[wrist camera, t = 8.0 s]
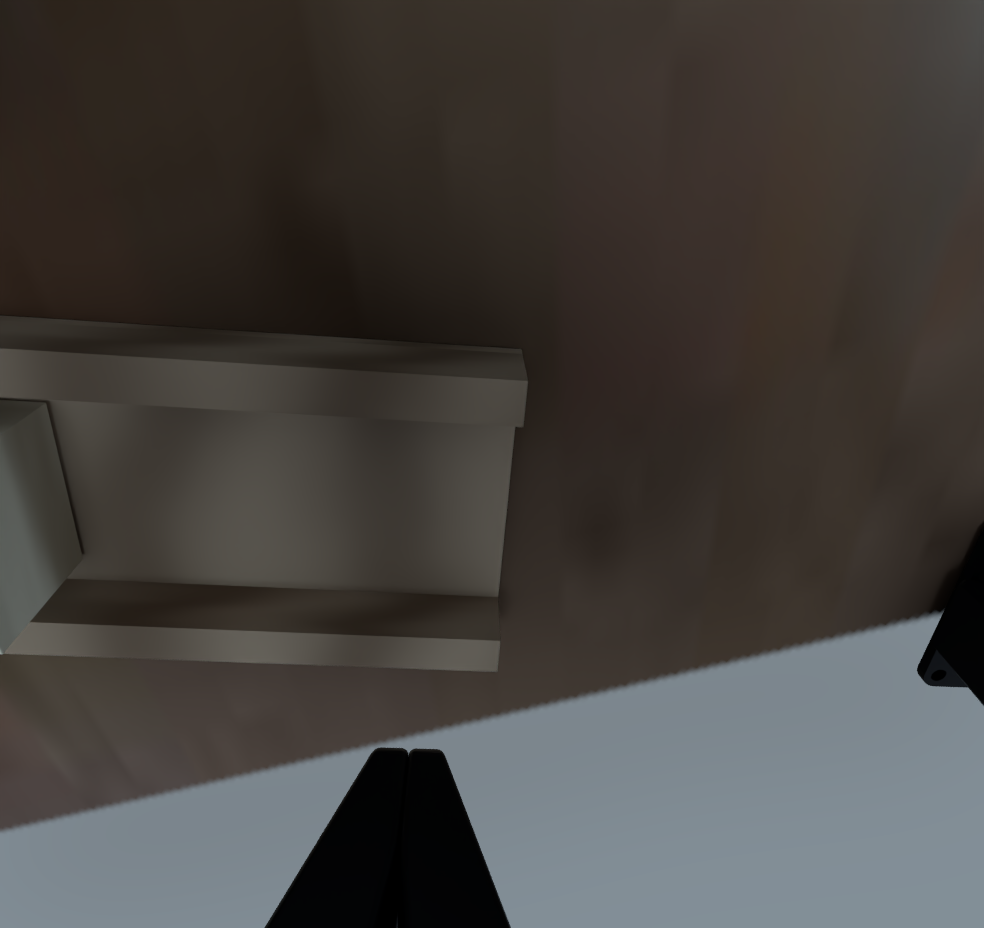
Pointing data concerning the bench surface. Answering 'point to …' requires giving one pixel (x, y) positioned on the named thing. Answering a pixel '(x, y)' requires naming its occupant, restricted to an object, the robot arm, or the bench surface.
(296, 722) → the bench surface
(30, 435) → the block
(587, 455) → the bench surface
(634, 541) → the bench surface
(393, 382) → the chute
